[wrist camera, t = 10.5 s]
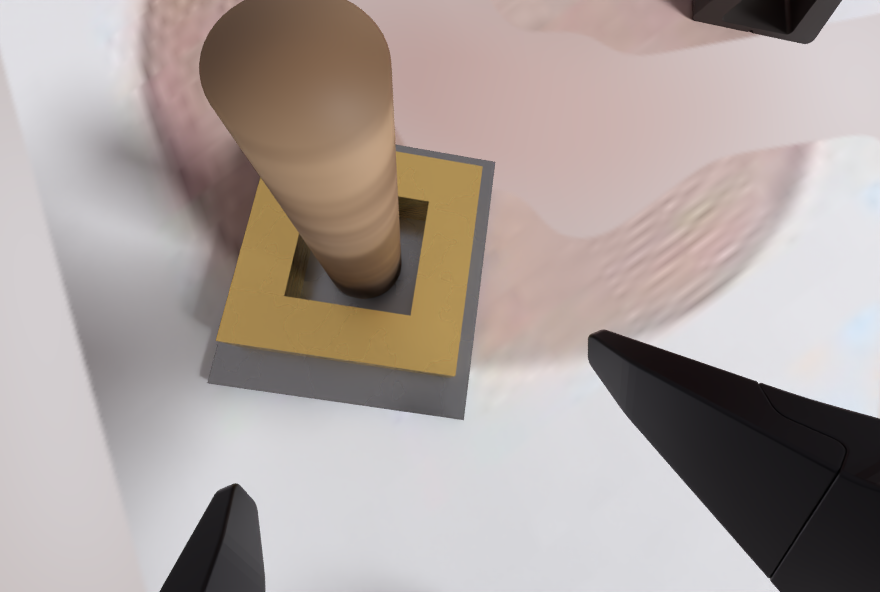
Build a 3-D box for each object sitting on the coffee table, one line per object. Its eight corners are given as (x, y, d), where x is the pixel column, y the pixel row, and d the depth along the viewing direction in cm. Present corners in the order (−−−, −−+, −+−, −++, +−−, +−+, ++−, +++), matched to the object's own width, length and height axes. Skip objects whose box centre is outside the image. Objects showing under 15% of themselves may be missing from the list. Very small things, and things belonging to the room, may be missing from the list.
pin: (407, 291, 22) (406, 132, 8) (333, 304, 22) (206, 158, 8) (394, 224, 23) (374, -20, 9) (323, 235, 22) (191, -4, 9)
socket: (461, 418, 22) (471, 423, 18) (214, 383, 21) (180, 382, 18) (492, 169, 25) (505, 136, 22) (281, 132, 25) (263, 93, 21)
